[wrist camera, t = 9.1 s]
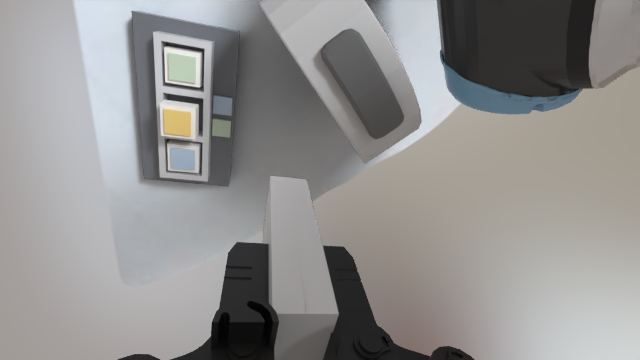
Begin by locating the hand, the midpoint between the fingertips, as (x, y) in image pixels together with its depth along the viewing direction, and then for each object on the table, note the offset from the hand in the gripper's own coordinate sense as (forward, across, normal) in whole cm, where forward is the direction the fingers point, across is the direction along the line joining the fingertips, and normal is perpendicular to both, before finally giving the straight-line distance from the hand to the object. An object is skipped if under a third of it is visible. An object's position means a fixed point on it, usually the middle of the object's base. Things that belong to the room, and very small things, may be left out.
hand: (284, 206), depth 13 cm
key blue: (+32, -11, -13) cm, 36 cm away
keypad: (+34, -11, -7) cm, 37 cm away
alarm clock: (+35, +8, +3) cm, 36 cm away
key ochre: (+30, -11, -7) cm, 32 cm away
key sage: (+32, -11, -1) cm, 34 cm away
